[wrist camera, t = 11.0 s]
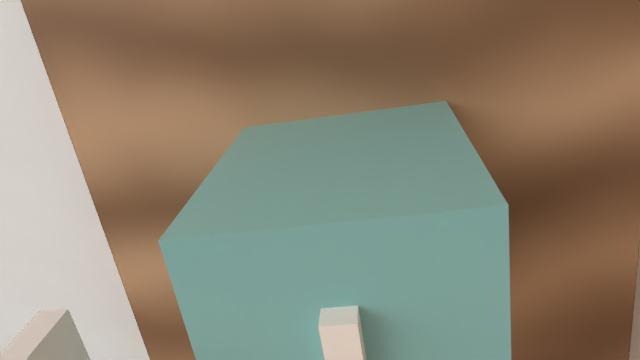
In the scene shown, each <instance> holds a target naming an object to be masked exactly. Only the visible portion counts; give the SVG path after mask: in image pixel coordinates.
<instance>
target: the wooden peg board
mask: <svg viewBox="0 0 640 360" xmlns="http://www.w3.org/2000/svg"><path fill="white" fill-rule="evenodd" d="M21 3H22V5H23V8H24V11H25V14H26V16H27V19H28V22H29V25H30V28H31V30H32V33H33V36H34V39H35V41H36V44H37V47H38V50H39V53H40V55H41V58H42V61H43V64H44V66H45V69H46V72H47V75H48V77H49V80H50V83H51V86H52V89H53V91H54V94H55V97H56V100H57V102H58V105H59V108H60V111H61V114H62V116H63V119H64V122H65V125H66V127H67V130H68V133H69V136H70V139H71V141H72V144H73V147H74V150H75V152H76V155H77V158H78V161H79V164H80V166H81V169H82V172H83V175H84V177H85V180H86V183H87V186H88V188H89V191H90V194H91V197H92V200H93V202H94V205H95V208H96V211H97V213H98V216H99V219H100V222H101V225H102V227H103V230H104V233H105V236H106V238H107V241H108V244H109V247H110V250H111V252H112V255H113V258H114V261H115V263H116V266H117V269H118V272H119V275H120V277H121V280H122V283H123V286H124V288H125V291H126V294H127V297H128V300H129V302H130V305H131V308H132V311H133V313H134V316H135V319H136V322H137V324H138V327H139V330H140V333H141V336H142V338H143V341H144V344H145V347H146V349H147V352H148V355H149V358H150V360H196V358H195V355H194V352H193V349H192V346H191V343H190V340H189V336H188V333H187V330H186V327H185V324H184V321H183V318H182V314H181V311H180V308H179V305H178V302H177V299H176V295H175V292H174V289H173V286H172V283H171V280H170V277H169V273H168V270H167V267H166V264H165V261H164V258H163V254H162V251H161V248H160V245H159V242H158V240H159V239H160V238H161V236H162V235H163V234H164V232H165V231H166V230H167V228H168V227H169V226H170V224H171V223H172V222H173V220H174V219H175V218H176V216H177V215H178V214H179V212H180V211H181V210H182V209H183V207H184V206H185V205H186V203H187V202H188V201H189V199H190V198H191V197H192V195H193V194H194V193H195V191H196V190H197V189H198V187H199V186H200V185H201V183H202V182H203V181H204V180H205V178H206V177H207V176H208V174H209V173H210V172H211V170H212V169H213V168H214V166H215V165H216V164H217V162H218V161H219V160H220V158H221V157H222V156H223V154H224V153H225V152H226V151H227V149H228V148H229V147H230V145H231V144H232V143H233V141H234V140H235V139H236V137H237V136H238V135H239V133H240V132H241V131H242V129H243V128H244V127H251V126H259V125H266V124H274V123H282V122H289V121H297V120H305V119H312V118H320V117H328V116H335V115H343V114H350V113H358V112H366V111H373V110H381V109H389V108H396V107H404V106H412V105H419V104H427V103H434V102H442V101H447V103H448V105H449V106H450V108H451V110H452V111H453V113H454V115H455V116H456V118H457V120H458V121H459V123H460V125H461V126H462V128H463V130H464V131H465V133H466V135H467V137H468V138H469V140H470V142H471V143H472V145H473V147H474V148H475V150H476V152H477V153H478V155H479V157H480V158H481V160H482V162H483V163H484V165H485V167H486V168H487V170H488V172H489V173H490V175H491V177H492V178H493V180H494V182H495V183H496V185H497V187H498V188H499V190H500V192H501V193H502V195H503V197H504V198H505V200H506V202H507V203H508V205H509V259H510V314H511V360H629V352H630V341H631V330H632V319H633V309H634V298H635V287H636V276H637V266H638V255H639V244H640V0H21Z"/></svg>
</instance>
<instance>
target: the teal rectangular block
mask: <svg viewBox="0 0 640 360" xmlns="http://www.w3.org/2000/svg"><path fill="white" fill-rule="evenodd" d="M158 242H159V245H160V248H161V251H162V254H163V258H164V261H165V264H166V267H167V270H168V273H169V277H170V280H171V283H172V286H173V289H174V292H175V295H176V299H177V302H178V305H179V308H180V311H181V314H182V318H183V321H184V324H185V327H186V330H187V333H188V336H189V340H190V343H191V346H192V349H193V352H194V355H195V358H196V360H511V314H510V259H509V205H508V203H507V202H506V200H505V198H504V197H503V195H502V193H501V192H500V190H499V188H498V187H497V185H496V183H495V182H494V180H493V178H492V177H491V175H490V173H489V172H488V170H487V168H486V167H485V165H484V163H483V162H482V160H481V158H480V157H479V155H478V153H477V152H476V150H475V148H474V147H473V145H472V143H471V142H470V140H469V138H468V137H467V135H466V133H465V131H464V130H463V128H462V126H461V125H460V123H459V121H458V120H457V118H456V116H455V115H454V113H453V111H452V110H451V108H450V106H449V105H448V103H447V101H442V102H434V103H427V104H419V105H412V106H404V107H396V108H389V109H381V110H373V111H366V112H358V113H350V114H343V115H335V116H328V117H320V118H312V119H305V120H297V121H289V122H282V123H274V124H266V125H259V126H251V127H244V128H243V129H242V131H241V132H240V133H239V135H238V136H237V137H236V139H235V140H234V141H233V143H232V144H231V145H230V147H229V148H228V149H227V151H226V152H225V153H224V154H223V156H222V157H221V158H220V160H219V161H218V162H217V164H216V165H215V166H214V168H213V169H212V170H211V172H210V173H209V174H208V176H207V177H206V178H205V180H204V181H203V182H202V183H201V185H200V186H199V187H198V189H197V190H196V191H195V193H194V194H193V195H192V197H191V198H190V199H189V201H188V202H187V203H186V205H185V206H184V207H183V209H182V210H181V211H180V212H179V214H178V215H177V216H176V218H175V219H174V220H173V222H172V223H171V224H170V226H169V227H168V228H167V230H166V231H165V232H164V234H163V235H162V236H161V238H160V239H159V240H158Z"/></svg>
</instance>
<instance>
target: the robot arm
mask: <svg viewBox="0 0 640 360" xmlns="http://www.w3.org/2000/svg"><path fill="white" fill-rule="evenodd" d="M0 360H90V358H89V356H88V353H87V351H86V349H85V347H84V344H83V342H82V340H81V337H80V335H79V333H78V331H77V328H76V326H75V324H74V322H73V319H72V317H71V315H70V312H69V310H68V309H61V310H49V311H39V312H38V313H37V314H36V315H35V316H34V318H33V319H32V320H31V321H30V322H29V323H28V324H27V325H26V326H25V327H24V329H23V330H22V331H21V332H20V333H19V334H18V335H17V336H16V337H15V338H14V340H13V341H12V342H11V343H10V344H9V345H8V346H7V347H6V348H5V349H4V350H3V352H2V353H1V354H0Z"/></svg>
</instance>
